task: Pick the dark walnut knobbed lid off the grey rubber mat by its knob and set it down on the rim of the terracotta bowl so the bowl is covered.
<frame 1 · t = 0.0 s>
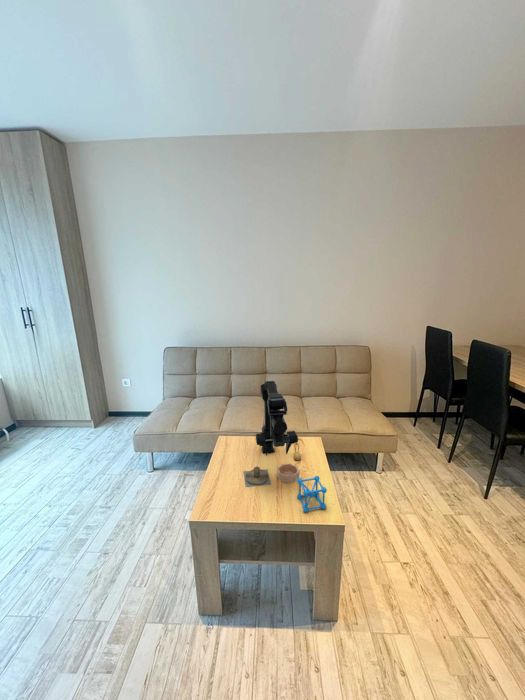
hand: (276, 454, 138), 15 cm above the table, fingers open, 9 cm apart
bowl: (288, 477, 145), on the table
lid: (257, 477, 144), point 1 cm above the table, touching mat
molecular structure: (311, 504, 127), on the table
mat: (257, 478, 144), on the table
figurine: (296, 458, 161), on the table
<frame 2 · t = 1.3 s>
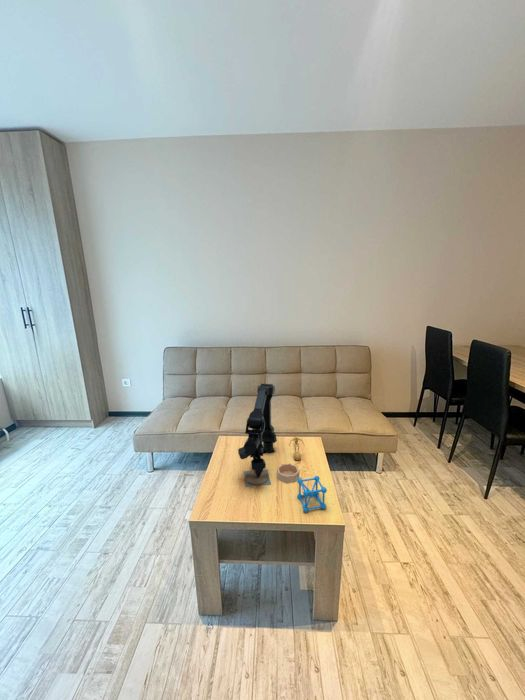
hand: (256, 471, 143), 4 cm above the table, fingers open, 9 cm apart
nothing on the table moved.
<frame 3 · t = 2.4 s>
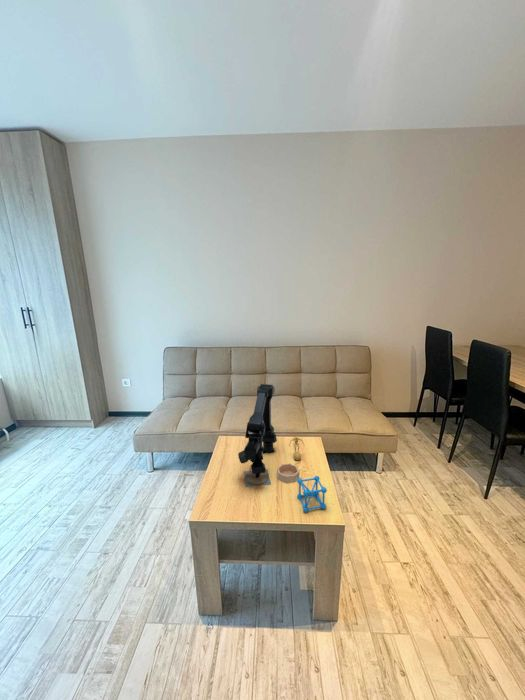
hand: (256, 475, 144), 2 cm above the table, fingers closed on lid, 3 cm apart
lid: (257, 477, 144), point 1 cm above the table, touching gripper, mat
everything else where it was.
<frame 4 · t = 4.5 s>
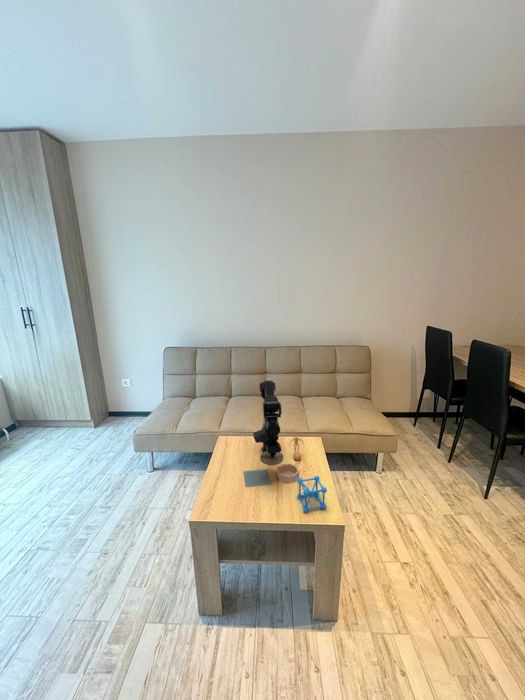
hand: (271, 455, 142), 12 cm above the table, fingers closed on lid, 3 cm apart
lid: (271, 458, 142), point 11 cm above the table, touching gripper
everything else where it was.
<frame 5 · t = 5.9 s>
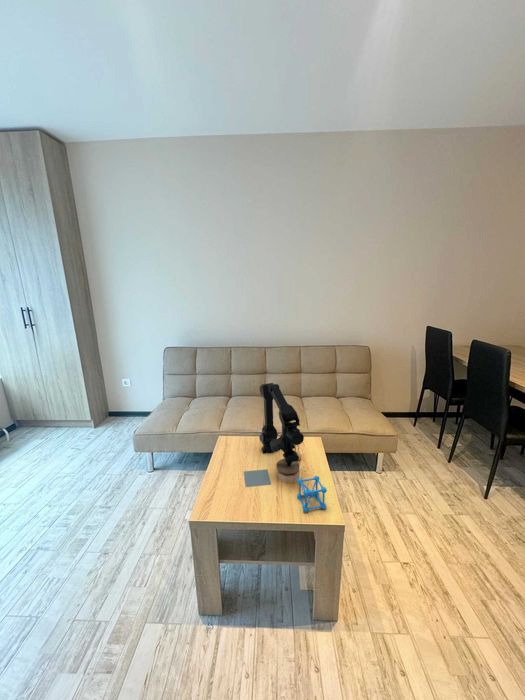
hand: (287, 464, 144), 7 cm above the table, fingers closed on lid, 3 cm apart
lid: (287, 466, 144), point 5 cm above the table, touching gripper
everything else where it was.
when the fingers open (6 cm above the table, at t = 6.6 s): lid stays where it is, resting on bowl.
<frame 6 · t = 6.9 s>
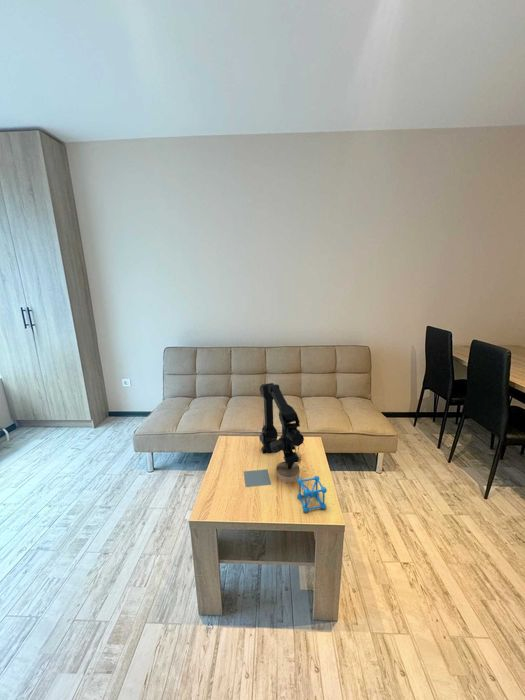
hand: (288, 465, 144), 6 cm above the table, fingers open, 6 cm apart
lid: (287, 469, 144), point 4 cm above the table, touching bowl
everything else where it was.
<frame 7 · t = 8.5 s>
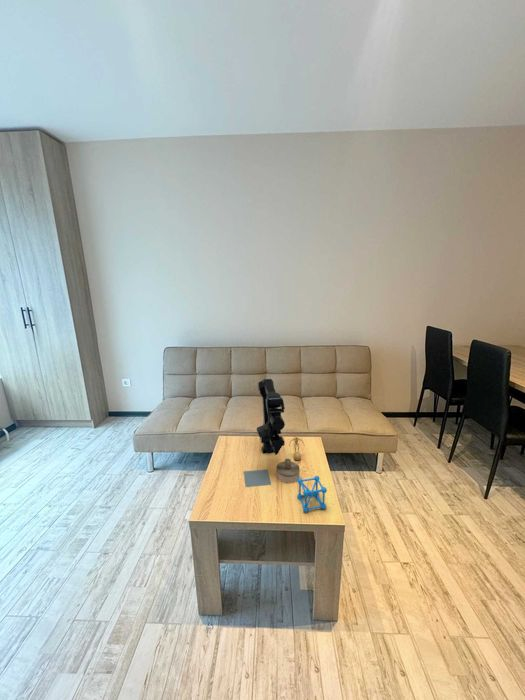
hand: (274, 449, 148), 12 cm above the table, fingers open, 9 cm apart
nothing on the table moved.
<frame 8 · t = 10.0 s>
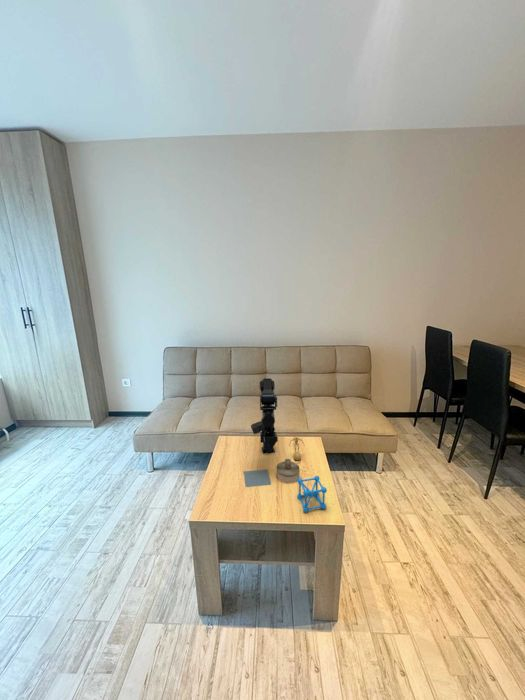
hand: (268, 446, 150), 12 cm above the table, fingers open, 9 cm apart
nothing on the table moved.
at the end: lid 0.1 cm off-centre on the bowl, point 4.0 cm above the bowl's base; lid tilted 0°; the gripper is holding nothing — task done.
